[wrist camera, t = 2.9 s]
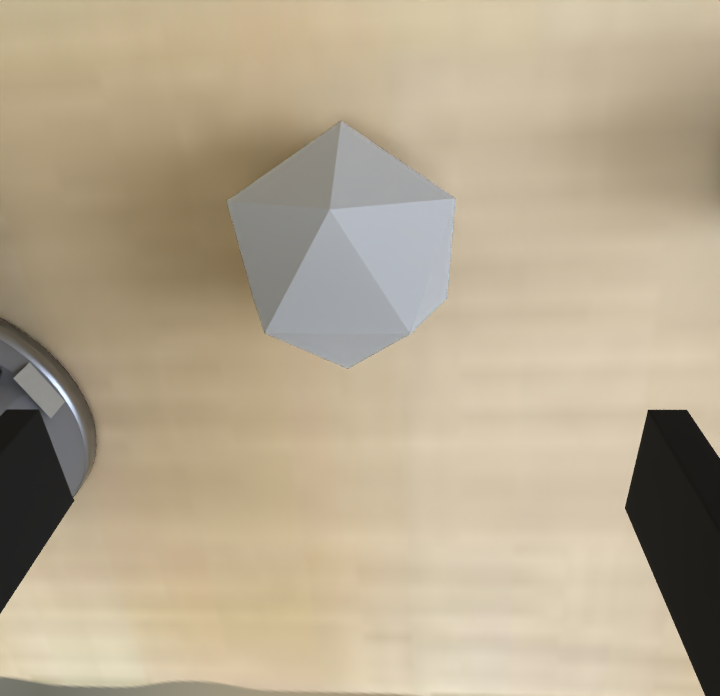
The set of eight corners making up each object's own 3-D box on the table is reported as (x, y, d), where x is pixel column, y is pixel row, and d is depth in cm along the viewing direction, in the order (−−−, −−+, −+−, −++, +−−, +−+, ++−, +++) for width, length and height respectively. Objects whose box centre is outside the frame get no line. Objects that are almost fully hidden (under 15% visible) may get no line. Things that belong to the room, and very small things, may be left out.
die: (319, 69, 25) (141, 197, 20) (517, 127, 22) (360, 299, 17) (336, 228, 32) (204, 354, 27) (490, 292, 29) (371, 450, 24)
